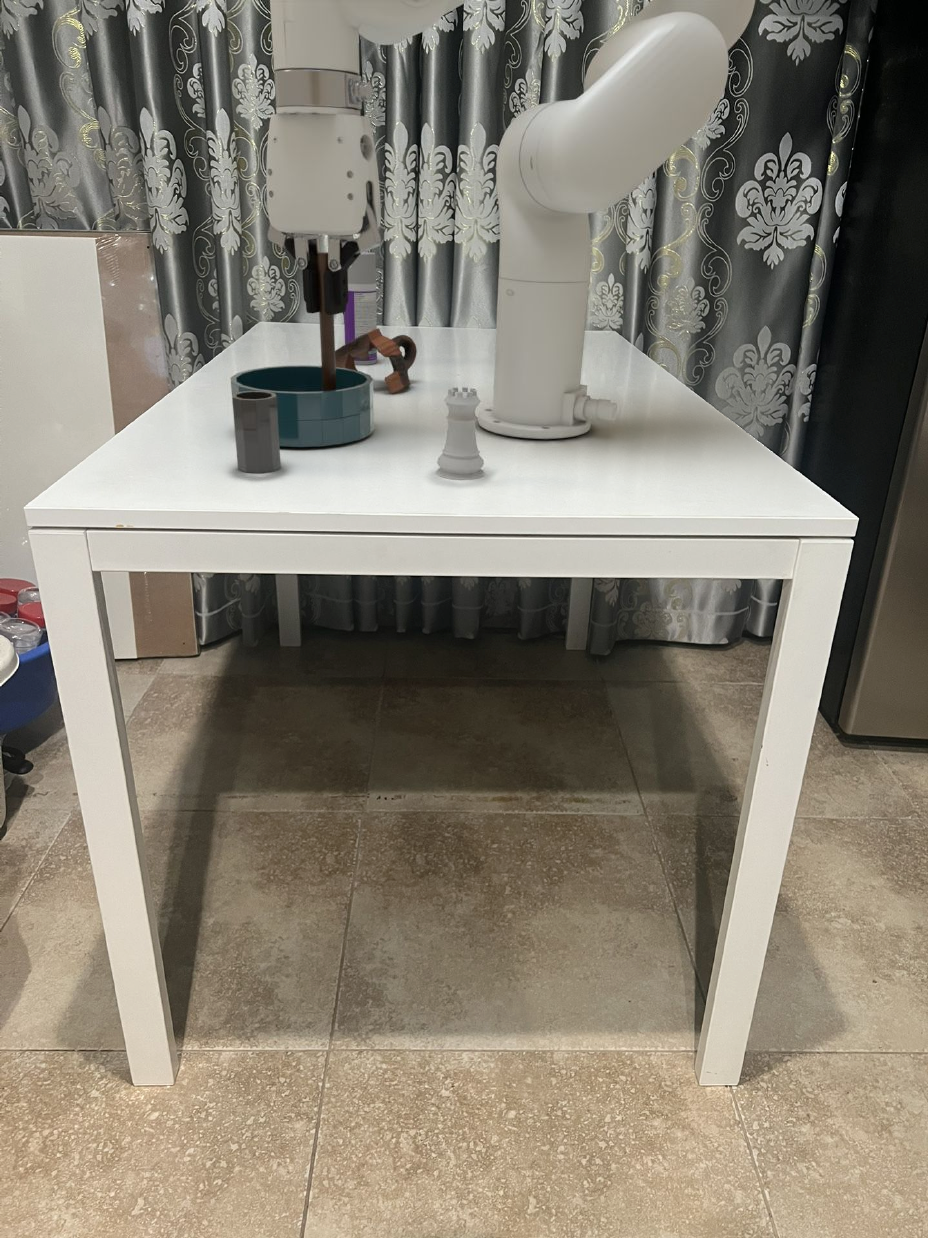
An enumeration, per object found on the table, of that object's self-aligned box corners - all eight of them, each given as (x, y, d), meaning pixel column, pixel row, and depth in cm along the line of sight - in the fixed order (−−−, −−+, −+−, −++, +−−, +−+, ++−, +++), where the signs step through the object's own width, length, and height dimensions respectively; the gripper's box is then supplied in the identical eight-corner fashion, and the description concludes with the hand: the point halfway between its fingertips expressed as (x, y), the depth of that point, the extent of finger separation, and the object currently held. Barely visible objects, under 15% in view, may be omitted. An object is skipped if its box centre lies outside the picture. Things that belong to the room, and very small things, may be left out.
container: (342, 359, 135) (339, 251, 129) (372, 358, 137) (370, 251, 130) (349, 365, 131) (347, 253, 125) (380, 364, 133) (379, 254, 126)
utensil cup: (289, 469, 84) (284, 393, 81) (265, 480, 81) (259, 401, 78) (254, 464, 85) (248, 388, 82) (229, 475, 82) (222, 397, 79)
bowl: (395, 429, 98) (395, 373, 96) (331, 462, 87) (328, 399, 84) (283, 414, 103) (280, 360, 100) (206, 443, 91) (201, 383, 89)
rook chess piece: (447, 486, 81) (449, 396, 77) (428, 472, 84) (429, 385, 81) (492, 482, 82) (496, 393, 79) (472, 468, 86) (475, 383, 82)
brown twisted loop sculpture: (381, 402, 112) (347, 340, 110) (343, 422, 120) (311, 364, 118) (444, 365, 119) (414, 307, 117) (404, 386, 126) (375, 331, 124)
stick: (339, 417, 94) (334, 252, 87) (333, 420, 93) (326, 253, 86) (328, 416, 95) (321, 251, 88) (321, 419, 93) (314, 252, 86)
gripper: (414, 101, 82) (414, 313, 90) (266, 101, 87) (278, 303, 95) (377, 93, 76) (381, 323, 84) (219, 94, 81) (237, 311, 89)
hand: (326, 311), depth 89 cm, fingers closed on stick, 1 cm apart
